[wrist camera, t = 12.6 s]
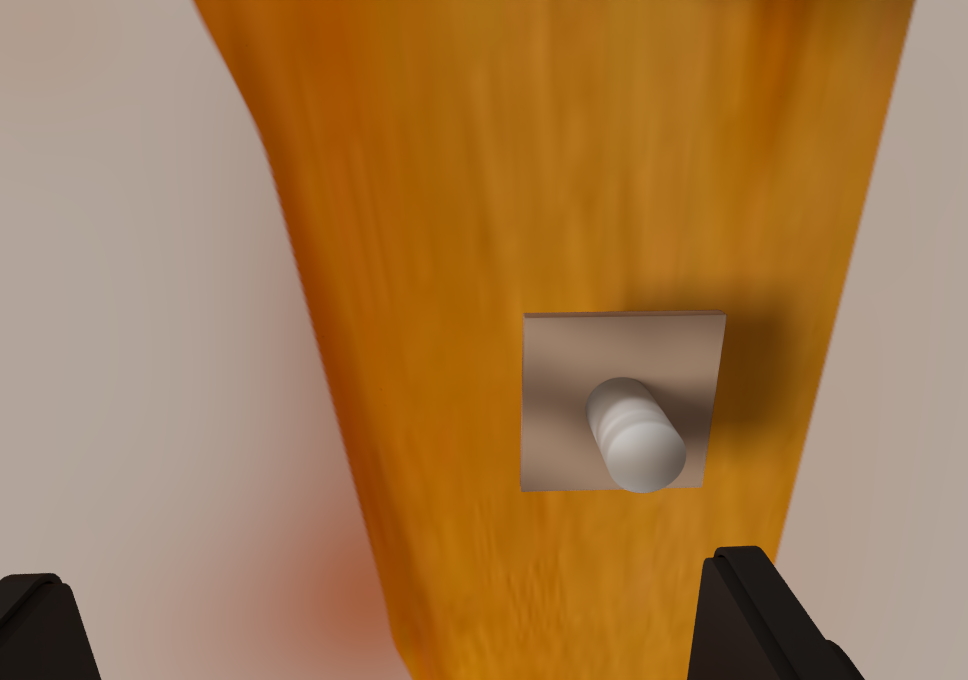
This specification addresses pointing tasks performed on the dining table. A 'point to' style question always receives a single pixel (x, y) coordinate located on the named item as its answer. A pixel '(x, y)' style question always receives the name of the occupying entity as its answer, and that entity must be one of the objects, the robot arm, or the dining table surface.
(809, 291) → the dining table surface
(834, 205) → the dining table surface
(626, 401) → the lid
